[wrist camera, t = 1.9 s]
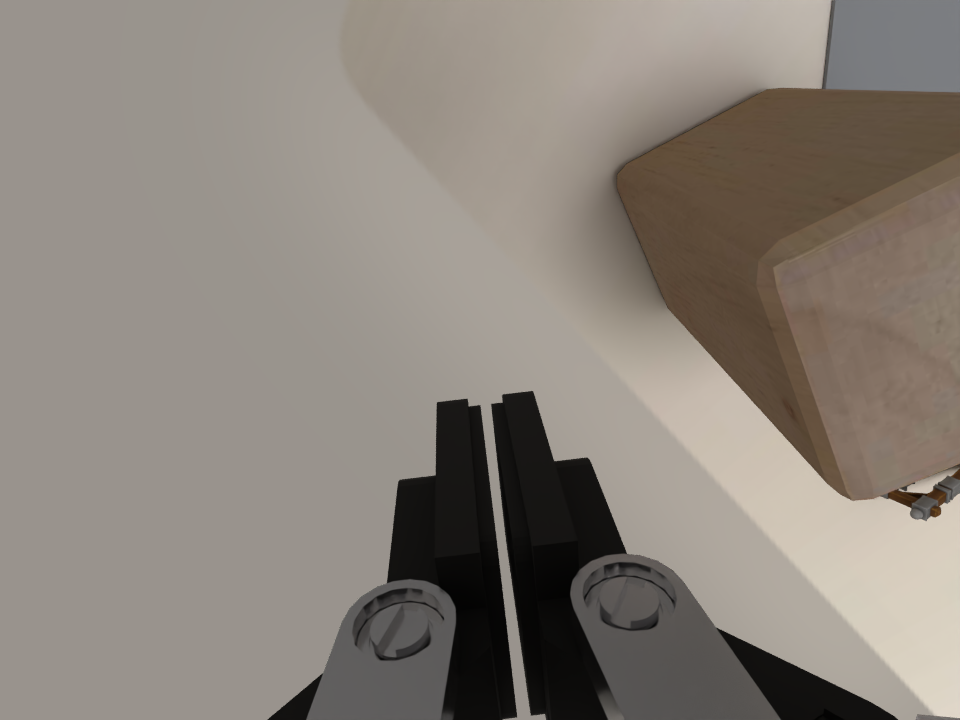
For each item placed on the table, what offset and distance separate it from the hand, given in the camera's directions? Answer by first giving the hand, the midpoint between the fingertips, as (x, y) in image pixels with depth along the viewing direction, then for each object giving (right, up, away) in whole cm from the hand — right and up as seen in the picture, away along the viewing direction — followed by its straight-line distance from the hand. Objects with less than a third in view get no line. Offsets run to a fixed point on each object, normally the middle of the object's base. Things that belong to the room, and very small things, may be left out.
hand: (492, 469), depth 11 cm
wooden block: (+14, +11, +26) cm, 31 cm away
